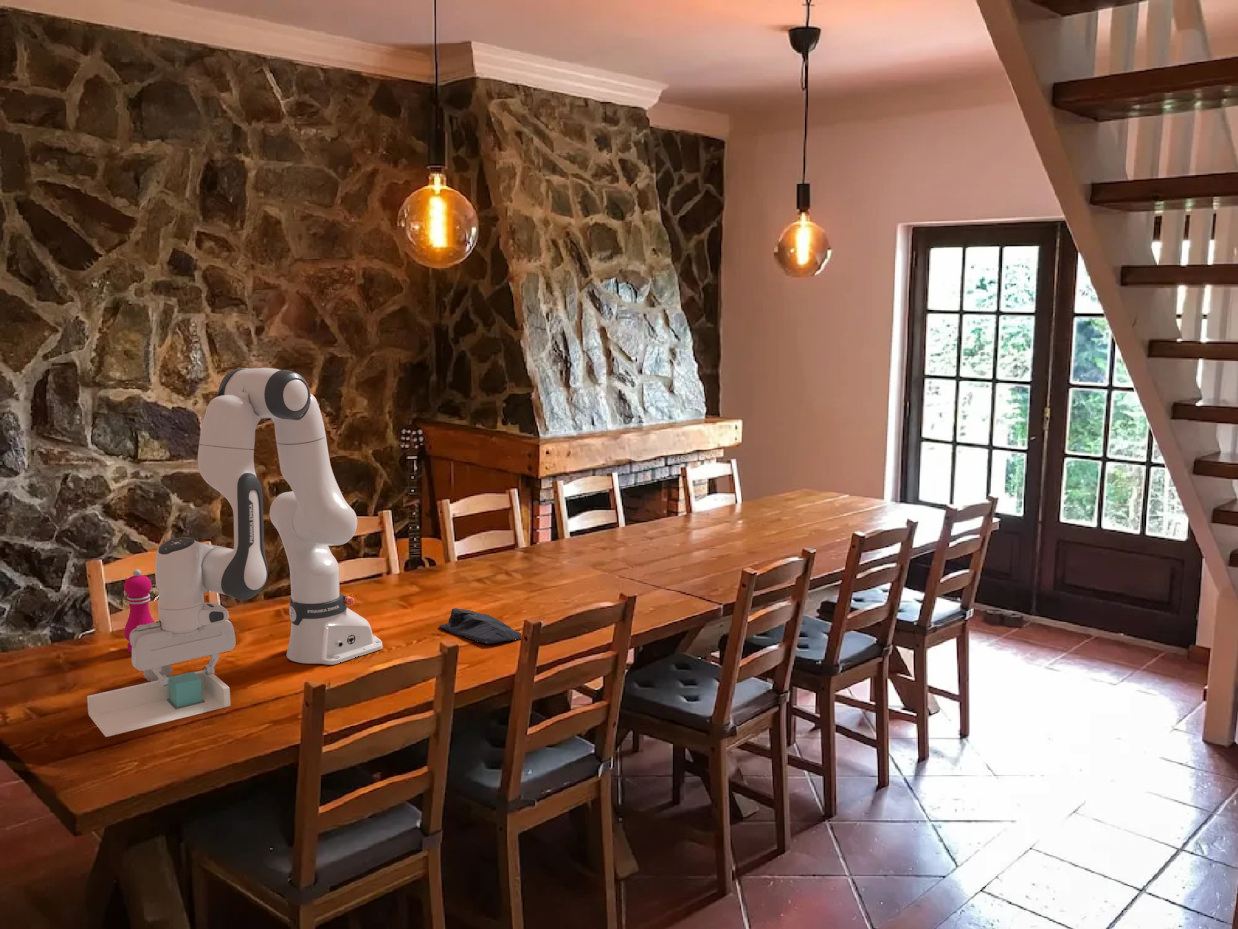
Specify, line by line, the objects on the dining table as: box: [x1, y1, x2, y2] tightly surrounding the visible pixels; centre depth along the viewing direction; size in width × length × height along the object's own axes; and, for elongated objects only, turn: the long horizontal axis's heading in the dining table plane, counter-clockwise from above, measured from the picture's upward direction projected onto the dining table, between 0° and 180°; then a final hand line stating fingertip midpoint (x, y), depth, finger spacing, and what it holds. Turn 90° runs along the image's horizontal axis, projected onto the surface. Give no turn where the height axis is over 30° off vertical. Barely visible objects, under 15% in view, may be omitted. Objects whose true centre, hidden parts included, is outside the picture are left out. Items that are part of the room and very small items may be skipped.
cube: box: [168, 671, 202, 707], centre depth 214 cm, size 5×5×5 cm
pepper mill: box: [123, 568, 155, 654], centre depth 245 cm, size 7×7×20 cm
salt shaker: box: [142, 664, 173, 682], centre depth 226 cm, size 6×6×13 cm
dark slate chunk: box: [438, 607, 522, 645], centre depth 263 cm, size 15×22×5 cm
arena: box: [86, 669, 231, 738], centre depth 210 cm, size 24×13×5 cm, turn 130°
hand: (187, 679), depth 214 cm, fingers open, 8 cm apart
